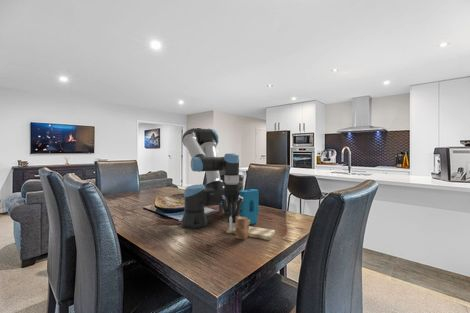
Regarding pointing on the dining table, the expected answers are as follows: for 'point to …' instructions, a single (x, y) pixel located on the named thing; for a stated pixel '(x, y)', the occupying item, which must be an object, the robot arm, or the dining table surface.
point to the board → (256, 232)
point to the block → (250, 204)
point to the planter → (239, 188)
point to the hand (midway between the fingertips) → (231, 229)
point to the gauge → (242, 227)
